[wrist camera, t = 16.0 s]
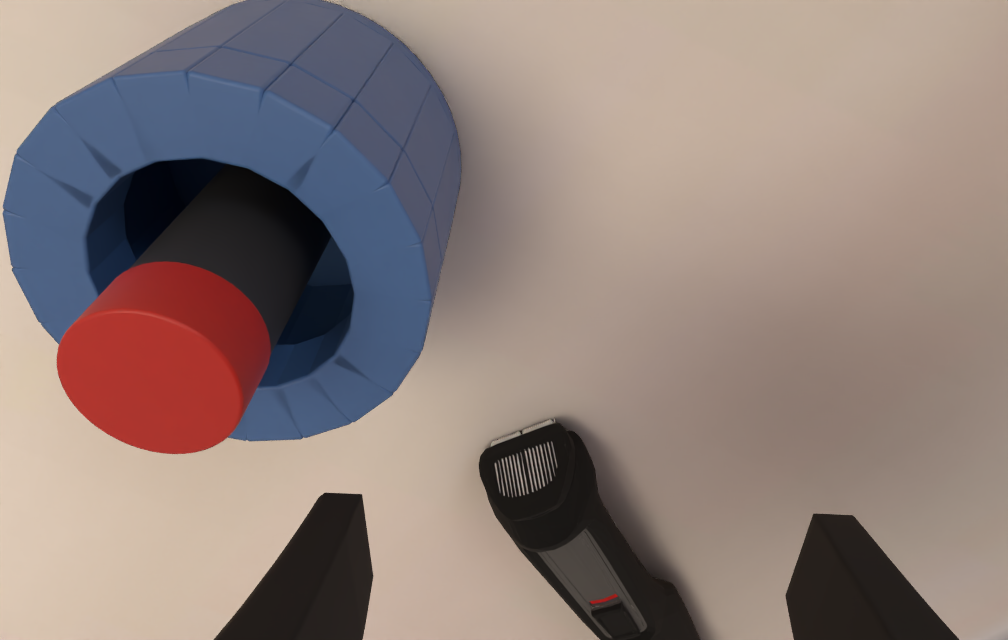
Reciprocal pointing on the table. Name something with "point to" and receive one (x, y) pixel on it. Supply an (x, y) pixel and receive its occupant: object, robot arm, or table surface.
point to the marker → (194, 317)
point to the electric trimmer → (577, 536)
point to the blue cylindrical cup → (274, 155)
